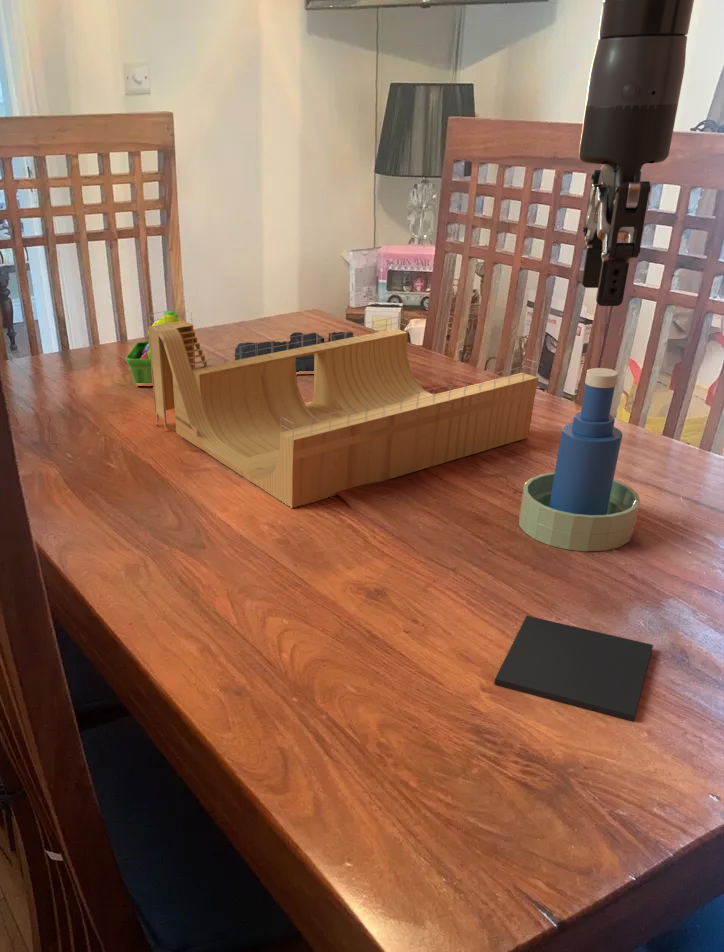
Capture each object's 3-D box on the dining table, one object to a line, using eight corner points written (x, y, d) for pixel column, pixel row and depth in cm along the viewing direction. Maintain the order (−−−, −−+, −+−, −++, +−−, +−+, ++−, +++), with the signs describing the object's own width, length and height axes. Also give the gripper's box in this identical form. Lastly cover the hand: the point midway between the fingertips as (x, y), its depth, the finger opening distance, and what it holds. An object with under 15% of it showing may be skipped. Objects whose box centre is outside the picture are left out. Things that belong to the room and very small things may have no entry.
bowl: (581, 500, 102) (587, 465, 100) (655, 542, 93) (664, 504, 91) (496, 518, 99) (501, 482, 96) (565, 564, 89) (572, 525, 87)
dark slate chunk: (233, 353, 160) (232, 327, 158) (351, 350, 161) (352, 324, 159) (235, 377, 147) (234, 349, 145) (363, 373, 148) (364, 345, 146)
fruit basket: (139, 370, 152) (133, 304, 146) (189, 370, 152) (185, 303, 146) (127, 390, 142) (120, 319, 136) (181, 389, 142) (176, 319, 136)
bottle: (578, 510, 99) (605, 361, 90) (615, 532, 94) (647, 376, 85) (535, 520, 97) (559, 368, 88) (570, 542, 92) (599, 384, 83)
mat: (525, 620, 80) (526, 615, 80) (651, 650, 75) (653, 644, 75) (493, 684, 72) (494, 678, 71) (633, 721, 67) (635, 715, 67)
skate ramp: (291, 516, 102) (293, 383, 93) (155, 425, 127) (146, 313, 118) (527, 444, 121) (546, 328, 112) (368, 377, 146) (374, 277, 137)
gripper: (700, 100, 68) (658, 312, 76) (658, 98, 80) (626, 281, 88) (600, 102, 69) (570, 312, 77) (574, 100, 81) (550, 281, 89)
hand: (600, 295), depth 83 cm, fingers open, 8 cm apart
